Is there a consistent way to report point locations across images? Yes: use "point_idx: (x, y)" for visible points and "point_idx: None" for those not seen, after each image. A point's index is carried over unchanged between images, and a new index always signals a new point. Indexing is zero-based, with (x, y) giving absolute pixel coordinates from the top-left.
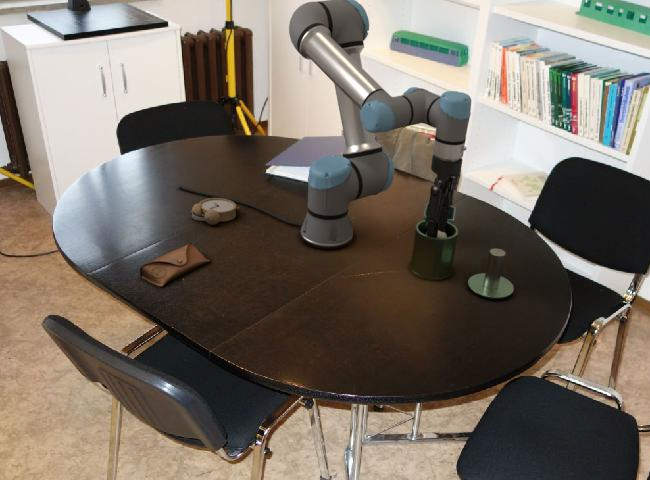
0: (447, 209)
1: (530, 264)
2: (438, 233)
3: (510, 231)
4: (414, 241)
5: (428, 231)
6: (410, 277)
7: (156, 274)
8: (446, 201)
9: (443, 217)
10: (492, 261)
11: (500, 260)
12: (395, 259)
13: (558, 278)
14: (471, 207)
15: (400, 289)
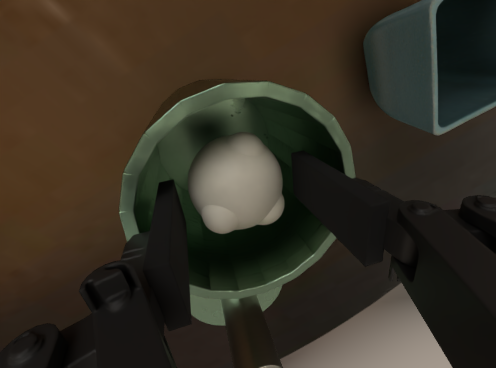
0: (392, 259)
1: (365, 274)
2: (229, 224)
3: (474, 185)
4: (165, 106)
5: (125, 247)
6: (126, 122)
7: None
8: (442, 326)
9: (338, 221)
10: (233, 362)
11: None
12: (187, 8)
13: (342, 320)
14: None
15: (31, 138)
